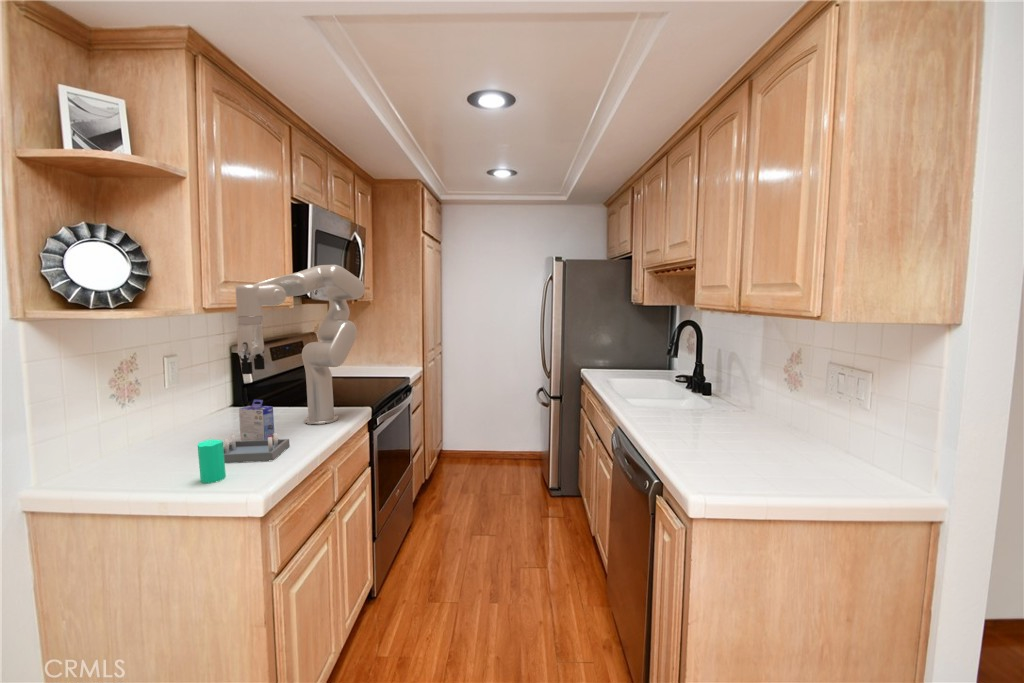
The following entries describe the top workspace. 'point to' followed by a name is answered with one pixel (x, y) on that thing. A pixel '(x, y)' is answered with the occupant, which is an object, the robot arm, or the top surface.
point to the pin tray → (254, 449)
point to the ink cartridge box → (256, 422)
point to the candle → (211, 461)
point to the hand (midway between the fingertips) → (253, 371)
